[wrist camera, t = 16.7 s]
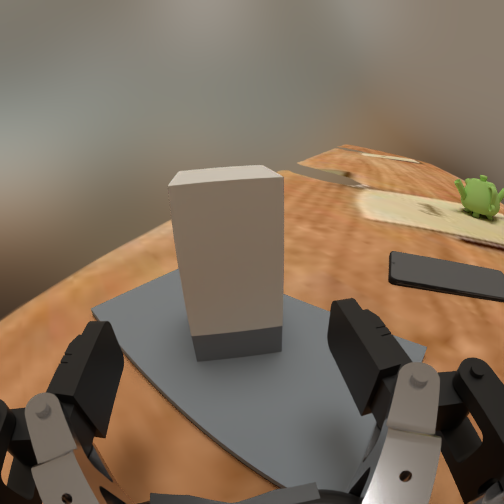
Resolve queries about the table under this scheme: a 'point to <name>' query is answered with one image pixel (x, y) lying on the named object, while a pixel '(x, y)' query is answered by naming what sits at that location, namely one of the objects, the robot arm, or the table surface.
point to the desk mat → (252, 387)
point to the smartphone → (445, 276)
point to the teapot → (480, 196)
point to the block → (230, 258)
